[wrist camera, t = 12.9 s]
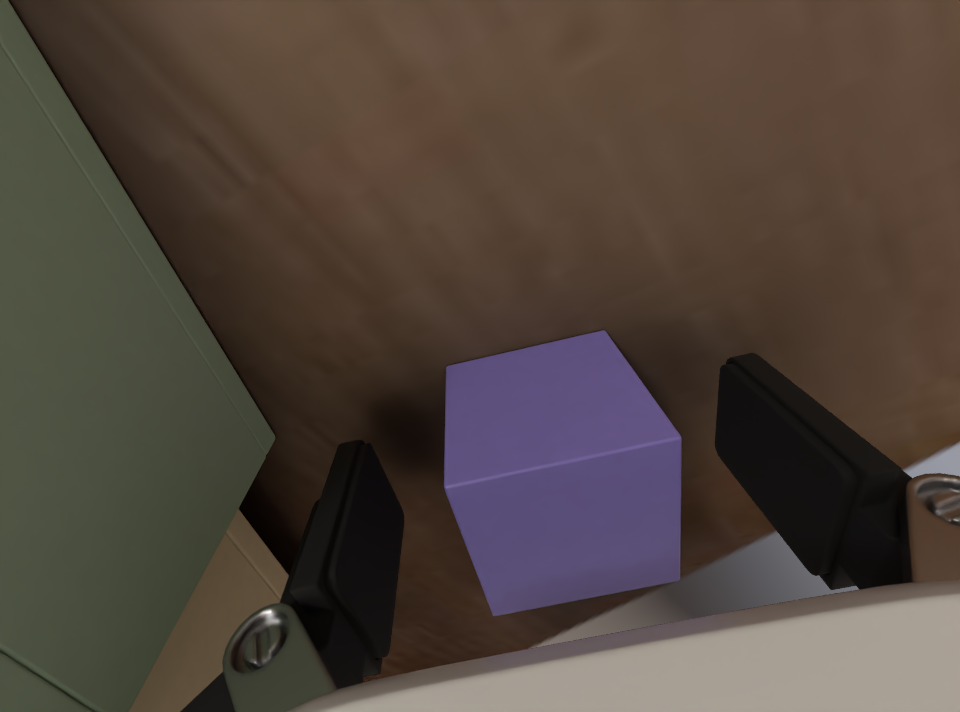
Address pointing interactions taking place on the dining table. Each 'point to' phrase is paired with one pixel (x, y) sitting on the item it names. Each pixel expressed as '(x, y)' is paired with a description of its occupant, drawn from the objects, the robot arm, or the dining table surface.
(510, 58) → the dining table surface
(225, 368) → the drawer cabinet
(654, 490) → the purple cube
